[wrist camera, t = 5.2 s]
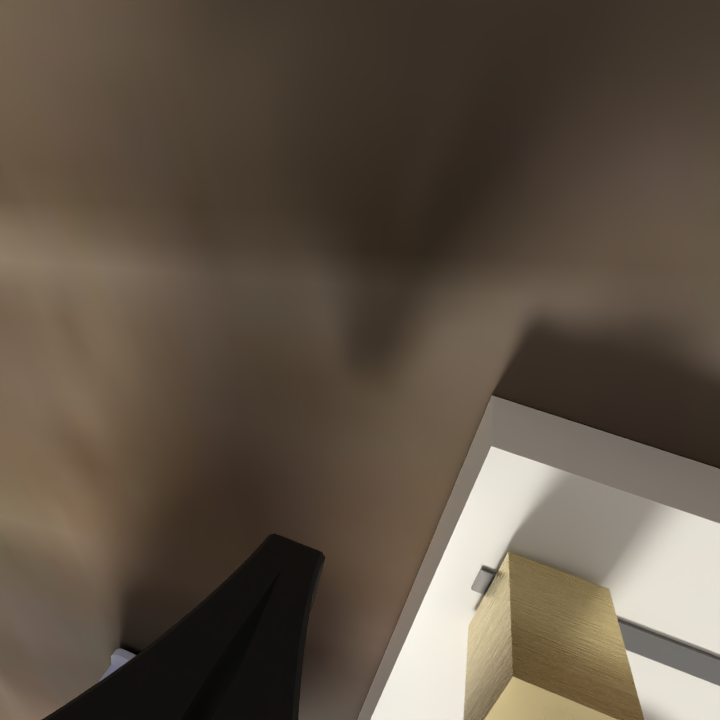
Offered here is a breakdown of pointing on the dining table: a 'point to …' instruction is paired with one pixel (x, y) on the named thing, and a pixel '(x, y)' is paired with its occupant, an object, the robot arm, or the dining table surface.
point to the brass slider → (547, 650)
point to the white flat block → (567, 561)
